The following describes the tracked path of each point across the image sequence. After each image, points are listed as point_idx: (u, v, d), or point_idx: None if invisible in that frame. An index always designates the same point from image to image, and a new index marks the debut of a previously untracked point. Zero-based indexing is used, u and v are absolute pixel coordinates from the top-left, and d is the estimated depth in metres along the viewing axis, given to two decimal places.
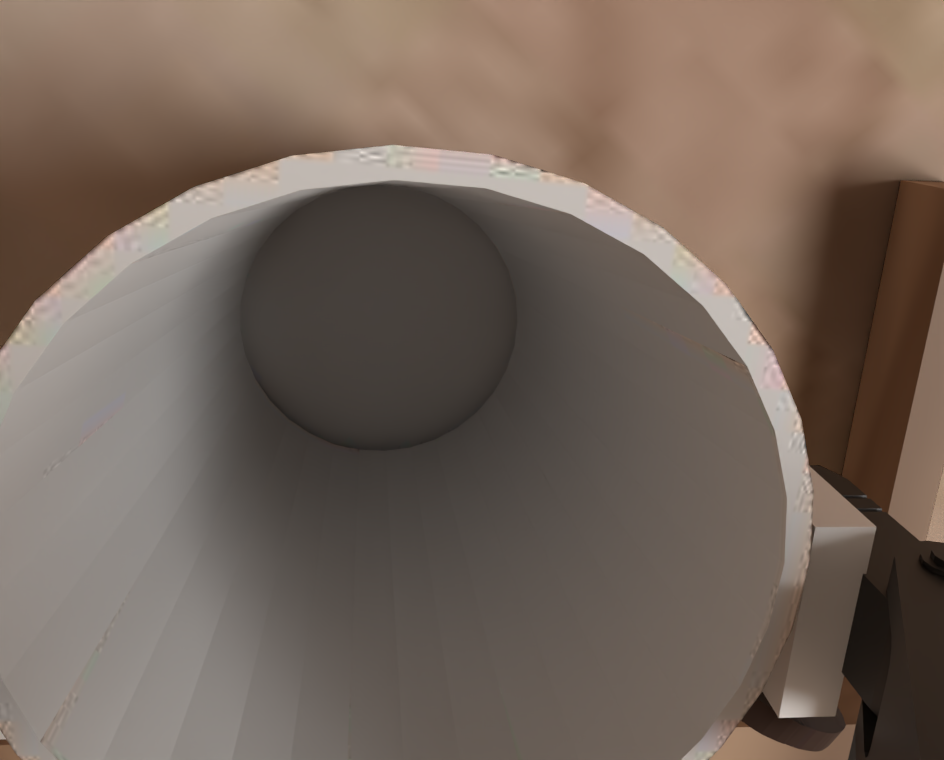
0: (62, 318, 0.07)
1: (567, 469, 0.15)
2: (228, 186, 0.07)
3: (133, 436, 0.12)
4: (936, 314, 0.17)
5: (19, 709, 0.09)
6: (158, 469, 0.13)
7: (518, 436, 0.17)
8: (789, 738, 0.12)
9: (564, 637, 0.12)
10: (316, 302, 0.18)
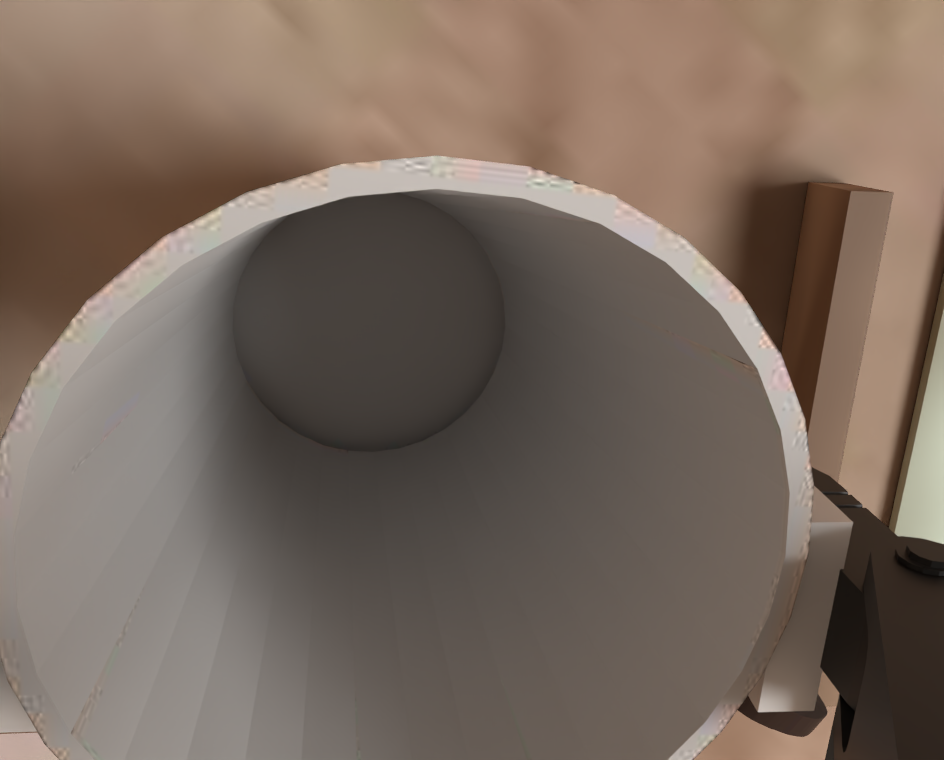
0: (113, 317, 0.08)
1: (560, 469, 0.15)
2: (280, 192, 0.08)
3: (144, 435, 0.12)
4: (835, 296, 0.20)
5: (51, 701, 0.09)
6: (165, 468, 0.13)
7: (508, 437, 0.17)
8: (778, 724, 0.12)
9: (563, 630, 0.13)
10: (307, 305, 0.18)
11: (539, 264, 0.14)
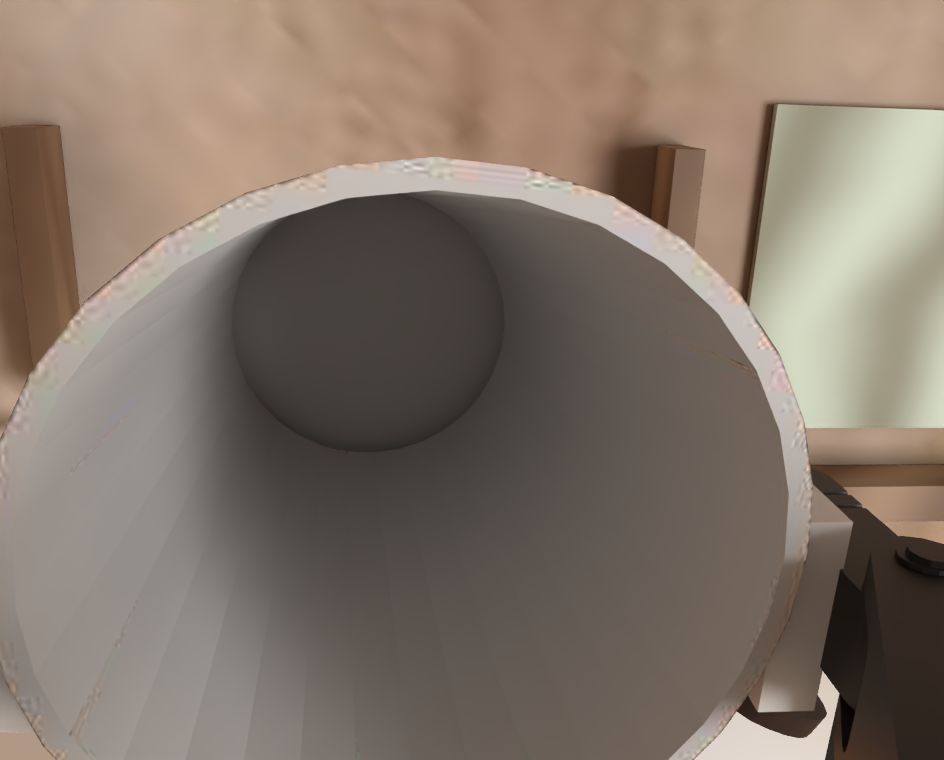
0: (111, 318, 0.08)
1: (559, 469, 0.15)
2: (277, 193, 0.07)
3: (142, 436, 0.12)
4: (670, 221, 0.29)
5: (48, 702, 0.09)
6: (163, 469, 0.13)
7: (507, 438, 0.17)
8: (777, 725, 0.12)
9: (562, 631, 0.13)
10: (306, 305, 0.18)
11: (538, 265, 0.14)
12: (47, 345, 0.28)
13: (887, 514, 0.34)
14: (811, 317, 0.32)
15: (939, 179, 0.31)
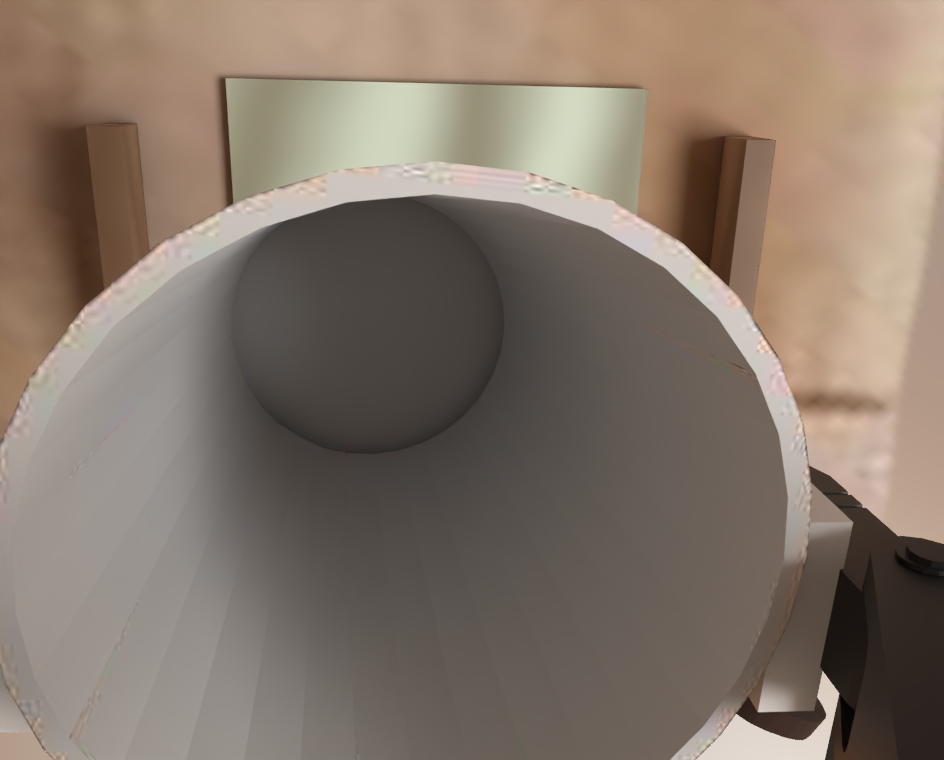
0: (111, 322, 0.08)
1: (559, 472, 0.15)
2: (277, 198, 0.08)
3: (142, 438, 0.12)
4: (96, 204, 0.27)
5: (48, 706, 0.09)
6: (163, 471, 0.13)
7: (507, 440, 0.17)
8: (776, 727, 0.12)
9: (562, 633, 0.13)
10: (306, 307, 0.18)
11: (538, 267, 0.14)
12: None
13: None
14: None
15: (424, 157, 0.29)
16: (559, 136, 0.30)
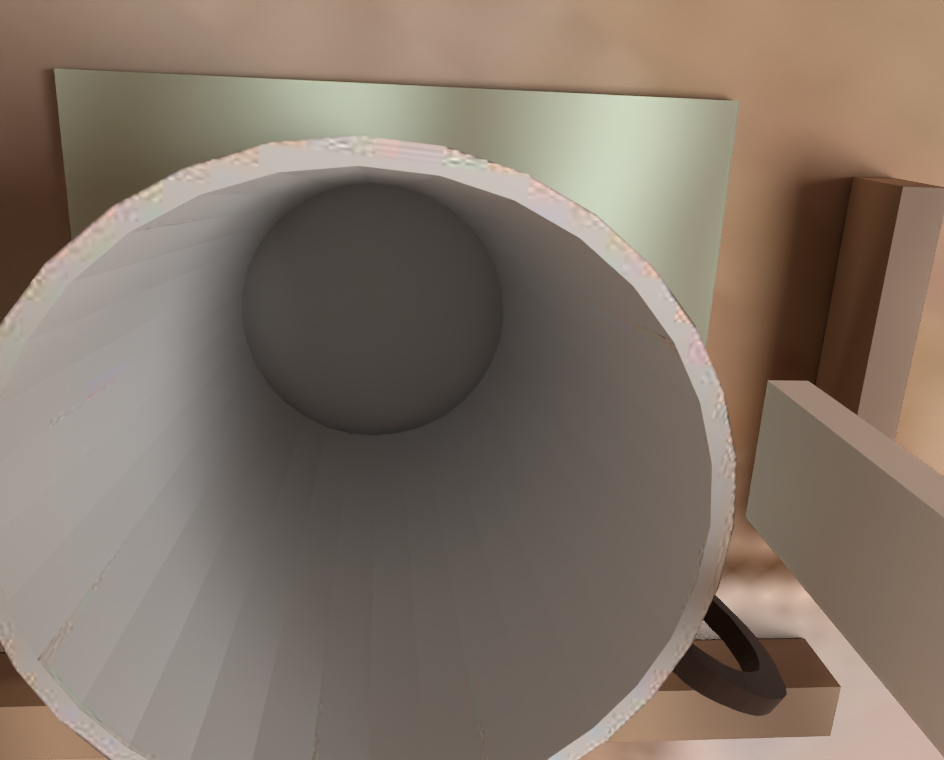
0: (68, 279, 0.09)
1: (538, 452, 0.16)
2: (214, 168, 0.08)
3: (134, 402, 0.13)
4: None
5: (19, 628, 0.10)
6: (157, 435, 0.14)
7: (498, 423, 0.18)
8: (728, 700, 0.13)
9: (525, 602, 0.13)
10: (313, 293, 0.19)
11: (518, 252, 0.15)
12: None
13: None
14: None
15: None
16: (597, 173, 0.19)
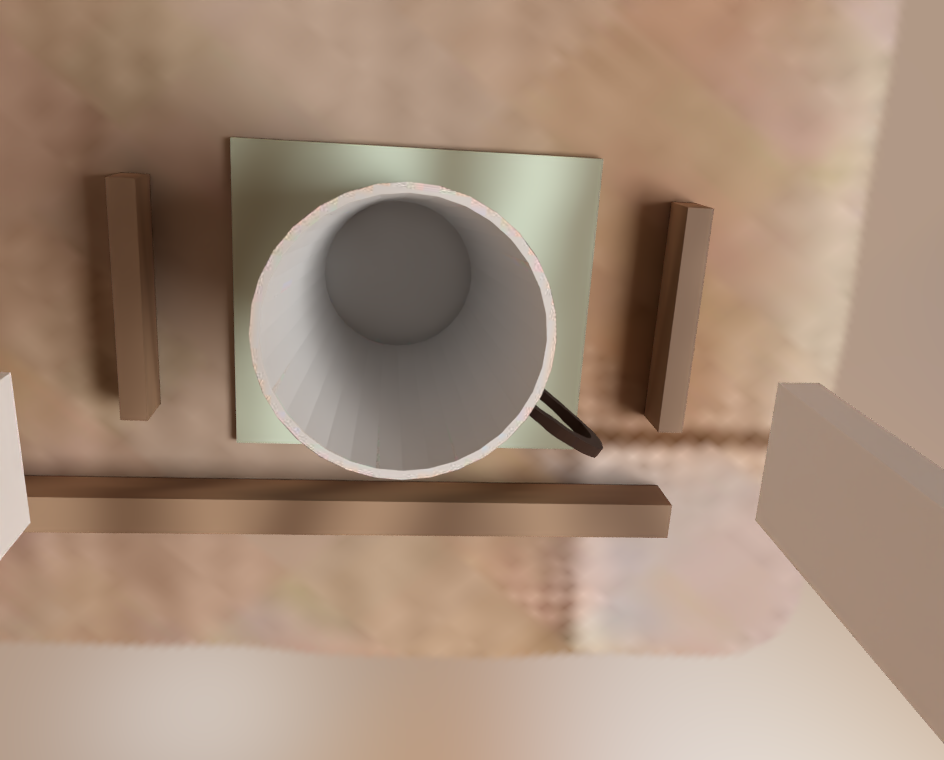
0: (300, 232, 0.23)
1: (486, 340, 0.30)
2: (356, 192, 0.23)
3: (291, 301, 0.28)
4: (111, 245, 0.31)
5: (266, 374, 0.24)
6: (297, 320, 0.28)
7: (466, 332, 0.32)
8: (567, 441, 0.27)
9: (475, 401, 0.28)
10: (364, 262, 0.34)
11: (475, 236, 0.29)
12: None
13: (381, 528, 0.35)
14: None
15: None
16: (524, 197, 0.33)
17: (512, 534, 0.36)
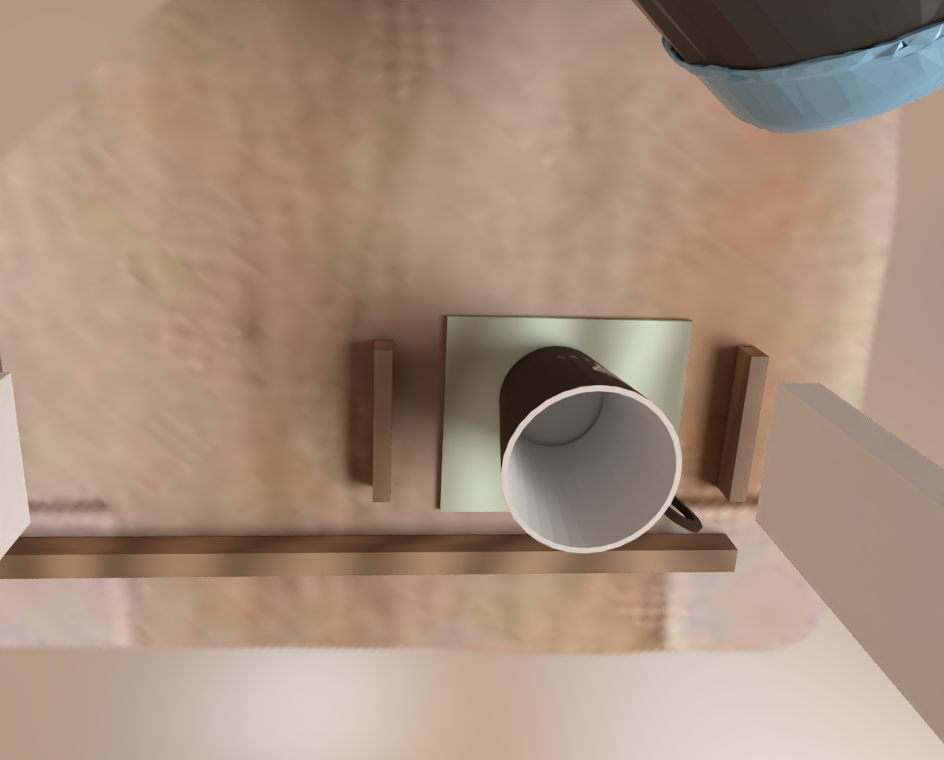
0: (535, 414, 0.39)
1: (622, 453, 0.46)
2: (568, 392, 0.39)
3: None
4: (375, 392, 0.47)
5: (509, 495, 0.40)
6: None
7: (604, 442, 0.48)
8: (683, 525, 0.43)
9: (622, 498, 0.44)
10: None
11: None
12: None
13: (540, 569, 0.52)
14: (485, 443, 0.50)
15: None
16: (639, 348, 0.49)
17: (628, 571, 0.52)
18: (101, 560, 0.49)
